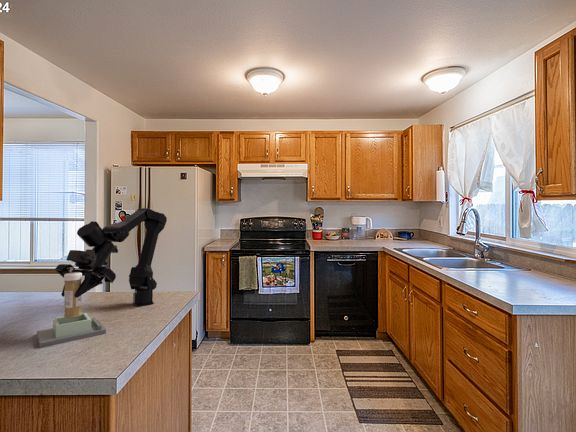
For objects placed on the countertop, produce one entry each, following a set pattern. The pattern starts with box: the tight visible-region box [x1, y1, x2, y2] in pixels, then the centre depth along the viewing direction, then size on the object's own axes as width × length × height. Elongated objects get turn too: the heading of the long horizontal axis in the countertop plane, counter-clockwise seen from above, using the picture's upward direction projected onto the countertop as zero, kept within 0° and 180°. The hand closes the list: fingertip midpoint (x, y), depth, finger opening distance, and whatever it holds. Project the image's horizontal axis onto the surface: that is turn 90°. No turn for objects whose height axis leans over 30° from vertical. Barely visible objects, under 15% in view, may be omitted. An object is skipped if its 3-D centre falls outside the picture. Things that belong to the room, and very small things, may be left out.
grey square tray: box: [36, 312, 107, 348], centre depth 93 cm, size 16×12×5 cm
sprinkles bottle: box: [63, 272, 83, 319], centre depth 93 cm, size 5×5×14 cm
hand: (69, 296), depth 92 cm, fingers closed on sprinkles bottle, 4 cm apart
